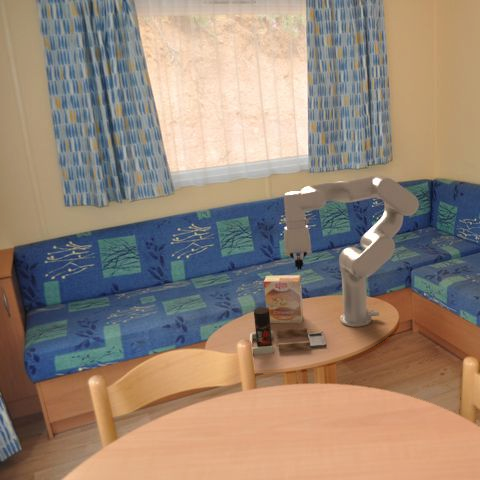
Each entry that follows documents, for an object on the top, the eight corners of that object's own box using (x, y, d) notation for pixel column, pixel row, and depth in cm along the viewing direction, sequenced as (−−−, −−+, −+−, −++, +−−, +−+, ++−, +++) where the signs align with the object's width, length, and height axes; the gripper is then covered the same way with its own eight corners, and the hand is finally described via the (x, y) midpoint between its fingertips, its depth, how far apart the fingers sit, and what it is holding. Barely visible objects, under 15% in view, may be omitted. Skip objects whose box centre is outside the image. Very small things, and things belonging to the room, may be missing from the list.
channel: (307, 334, 186) (307, 327, 185) (310, 349, 175) (310, 342, 174) (277, 336, 187) (277, 330, 186) (279, 351, 176) (278, 344, 175)
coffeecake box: (267, 323, 200) (263, 281, 194) (269, 315, 206) (266, 275, 201) (302, 323, 196) (298, 280, 191) (303, 315, 203) (300, 274, 198)
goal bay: (272, 336, 188) (272, 331, 187) (273, 352, 176) (273, 346, 175) (250, 338, 188) (250, 332, 188) (250, 354, 176) (249, 348, 175)
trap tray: (322, 334, 185) (322, 332, 185) (326, 346, 175) (326, 344, 175) (307, 335, 185) (307, 333, 185) (310, 348, 176) (310, 345, 176)
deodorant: (273, 341, 184) (270, 307, 180) (271, 349, 178) (267, 313, 174) (258, 341, 185) (255, 307, 181) (256, 349, 180) (252, 313, 176)
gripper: (314, 219, 181) (317, 263, 186) (276, 223, 182) (280, 266, 187) (316, 224, 174) (319, 270, 179) (276, 228, 175) (280, 273, 180)
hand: (299, 268), depth 183 cm, fingers closed
